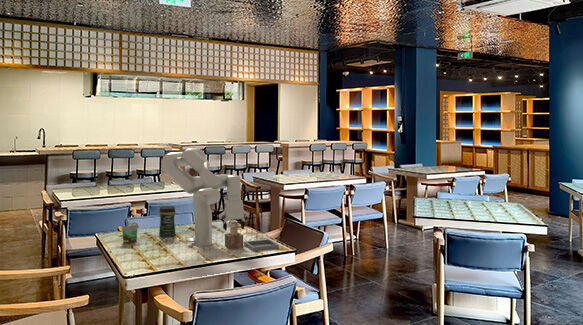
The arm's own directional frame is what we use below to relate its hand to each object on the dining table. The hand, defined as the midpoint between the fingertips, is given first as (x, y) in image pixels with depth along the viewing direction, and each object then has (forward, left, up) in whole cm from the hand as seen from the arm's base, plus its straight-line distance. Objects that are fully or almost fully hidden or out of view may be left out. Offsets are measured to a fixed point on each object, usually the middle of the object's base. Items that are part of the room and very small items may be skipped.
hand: (233, 229), depth 256 cm
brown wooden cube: (0, 0, -11) cm, 11 cm away
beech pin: (0, 0, -10) cm, 10 cm away
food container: (-49, +39, -11) cm, 64 cm away
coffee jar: (-28, +46, -11) cm, 55 cm away
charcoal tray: (+14, -5, -11) cm, 18 cm away
